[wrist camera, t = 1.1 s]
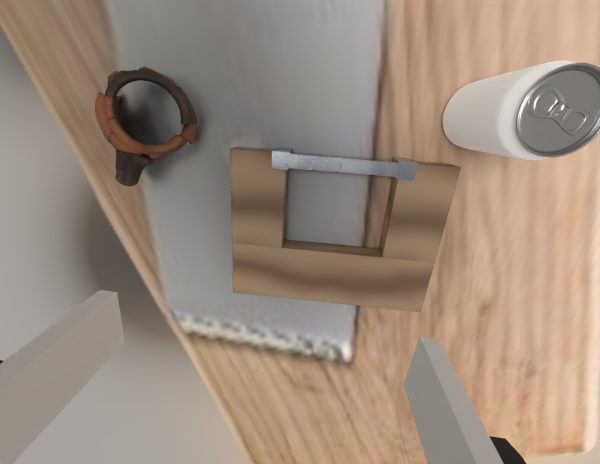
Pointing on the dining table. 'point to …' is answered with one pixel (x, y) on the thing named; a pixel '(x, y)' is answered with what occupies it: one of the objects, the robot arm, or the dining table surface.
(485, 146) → the can
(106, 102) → the pottery mug
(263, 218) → the wooden frame board
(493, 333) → the dining table surface
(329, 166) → the cross rail
